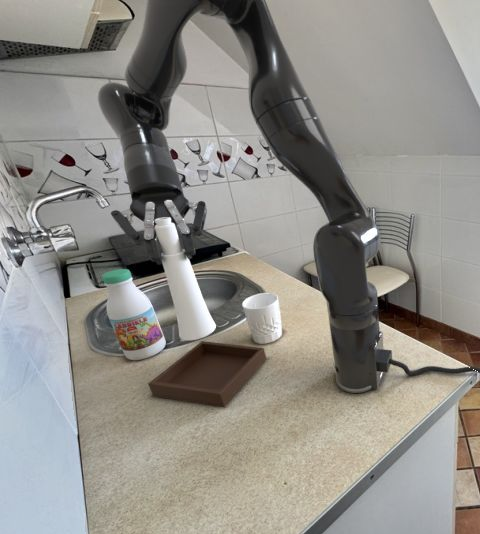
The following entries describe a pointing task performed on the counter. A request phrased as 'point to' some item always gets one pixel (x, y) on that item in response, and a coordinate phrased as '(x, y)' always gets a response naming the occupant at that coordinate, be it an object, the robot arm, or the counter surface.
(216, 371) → the tray
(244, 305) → the white cup
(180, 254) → the cosmetic bottle
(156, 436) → the counter surface
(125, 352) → the milk bottle
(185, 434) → the counter surface
